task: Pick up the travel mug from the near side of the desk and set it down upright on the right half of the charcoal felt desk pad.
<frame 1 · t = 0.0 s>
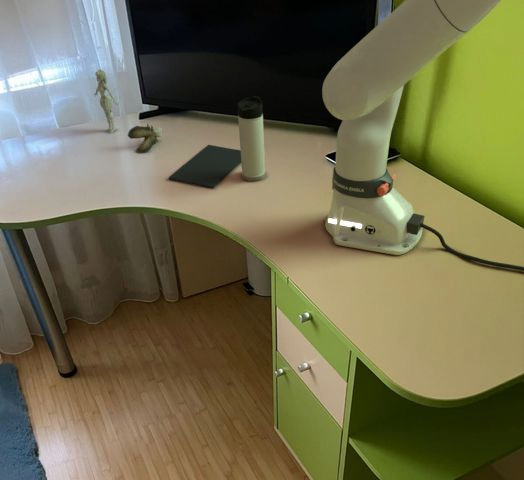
desk pad: (210, 166, 157), on the table
human figurine: (113, 130, 178), on the table
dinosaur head: (147, 146, 168), on the table
travel mug: (254, 176, 152), on the table
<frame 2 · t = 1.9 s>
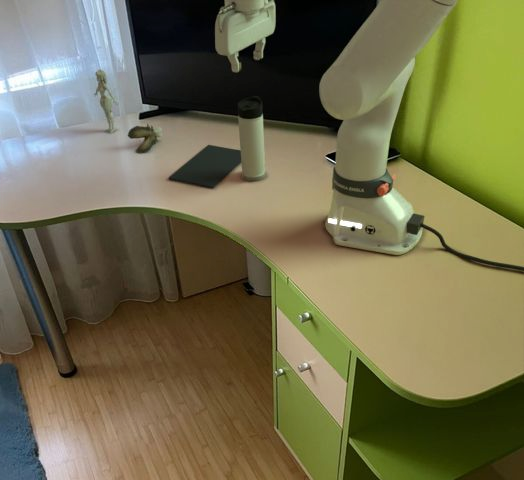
hand: (247, 65, 132), 28 cm above the table, tool pointing down, fingers open, 8 cm apart
nothing on the table moved.
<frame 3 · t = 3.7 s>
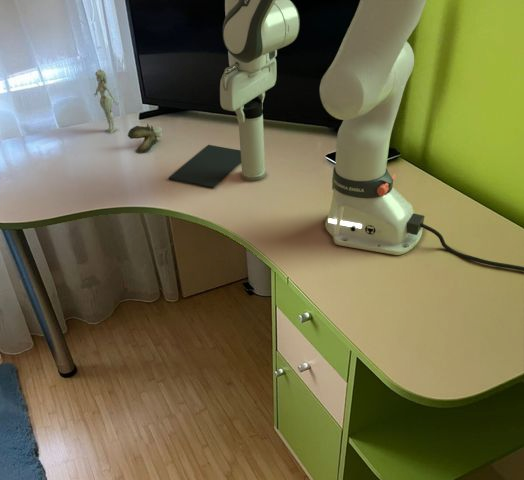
hand: (250, 116, 140), 16 cm above the table, tool pointing down, fingers closed on travel mug, 6 cm apart
travel mug: (254, 176, 152), on the table, touching gripper
everything else where it was.
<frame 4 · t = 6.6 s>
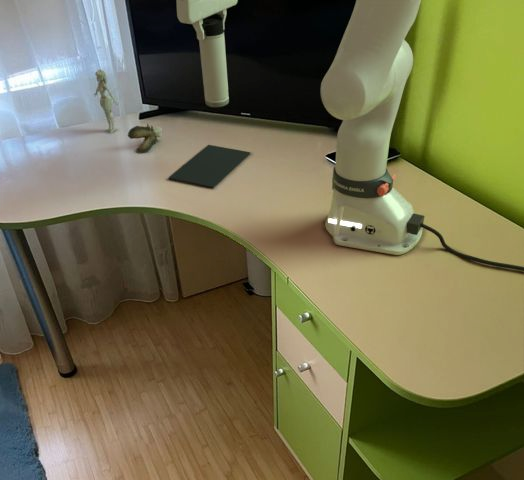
hand: (211, 34, 135), 33 cm above the table, tool pointing down, fingers closed on travel mug, 6 cm apart
travel mug: (217, 103, 147), point 16 cm above the table, touching gripper
everything else where it was.
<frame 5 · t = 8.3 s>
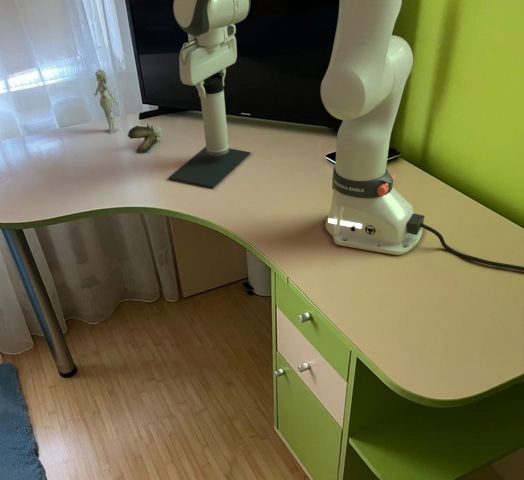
hand: (211, 91, 146), 19 cm above the table, tool pointing down, fingers closed on travel mug, 6 cm apart
travel mug: (218, 151, 157), point 3 cm above the table, touching gripper
everything else where it was.
when the fingers open (17 cm above the table, at t = 9.6 s): travel mug stays where it is, resting on desk pad.
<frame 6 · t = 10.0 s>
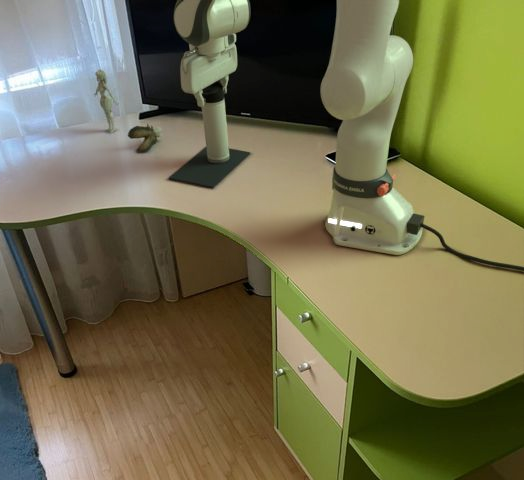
hand: (212, 99, 147), 17 cm above the table, tool pointing down, fingers open, 8 cm apart
travel mug: (219, 159, 159), resting on desk pad
everything else where it was.
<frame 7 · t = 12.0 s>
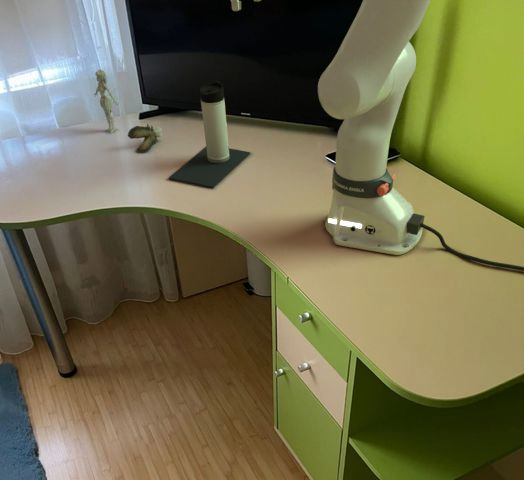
hand: (247, 5, 134), 38 cm above the table, tool pointing down, fingers open, 8 cm apart
nothing on the table moved.
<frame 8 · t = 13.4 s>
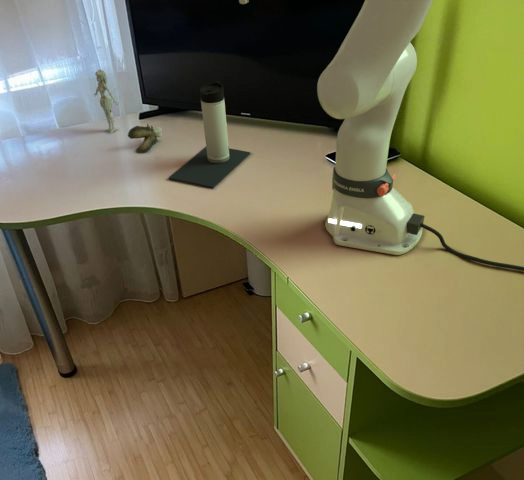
nothing on the table moved.
at the end: travel mug inside the target area on the desk pad (4.0 cm from its centre), point 0.4 cm above the desk pad's base; travel mug tilted 0°; the gripper is holding nothing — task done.
